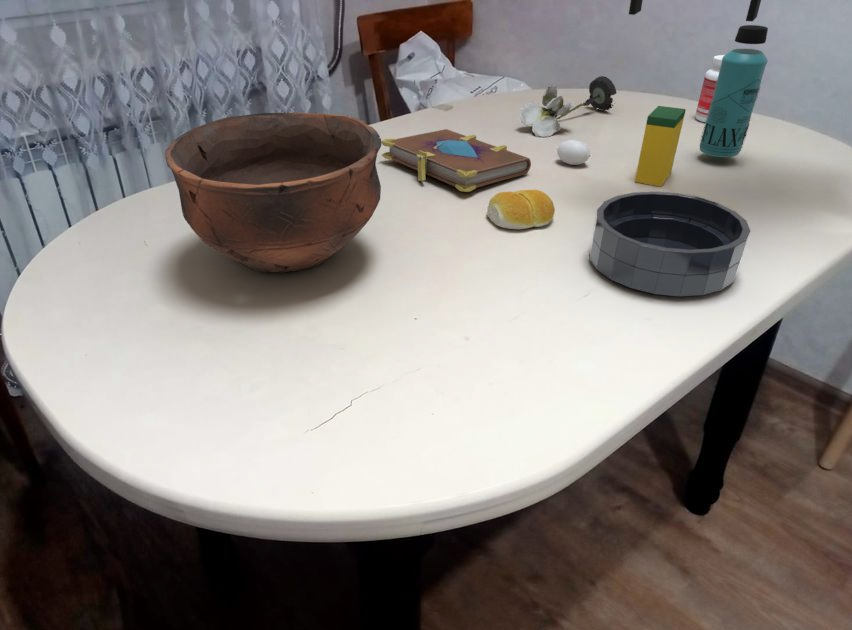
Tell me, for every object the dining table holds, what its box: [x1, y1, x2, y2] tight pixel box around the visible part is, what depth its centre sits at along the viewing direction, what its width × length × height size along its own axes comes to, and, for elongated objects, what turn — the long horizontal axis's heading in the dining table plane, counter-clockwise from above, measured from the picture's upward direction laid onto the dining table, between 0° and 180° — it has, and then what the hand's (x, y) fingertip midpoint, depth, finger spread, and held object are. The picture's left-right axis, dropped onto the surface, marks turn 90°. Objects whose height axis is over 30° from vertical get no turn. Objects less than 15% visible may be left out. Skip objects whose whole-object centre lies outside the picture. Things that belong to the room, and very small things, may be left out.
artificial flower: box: [518, 75, 617, 138], centre depth 124 cm, size 9×22×10 cm, turn 125°
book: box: [381, 128, 532, 193], centre depth 108 cm, size 16×25×5 cm, turn 37°
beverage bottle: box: [699, 24, 769, 158], centre depth 102 cm, size 6×7×20 cm
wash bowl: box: [589, 191, 751, 297], centre depth 78 cm, size 17×17×6 cm
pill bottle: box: [694, 54, 726, 124], centre depth 122 cm, size 6×6×11 cm
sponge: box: [634, 105, 687, 188], centre depth 99 cm, size 4×6×10 cm, turn 148°
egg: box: [556, 139, 591, 166], centre depth 107 cm, size 4×6×4 cm, turn 52°
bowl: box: [164, 112, 382, 274], centre depth 80 cm, size 25×25×15 cm
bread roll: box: [486, 189, 556, 230], centre depth 90 cm, size 8×9×4 cm
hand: (690, 16), depth 81 cm, fingers open, 13 cm apart
